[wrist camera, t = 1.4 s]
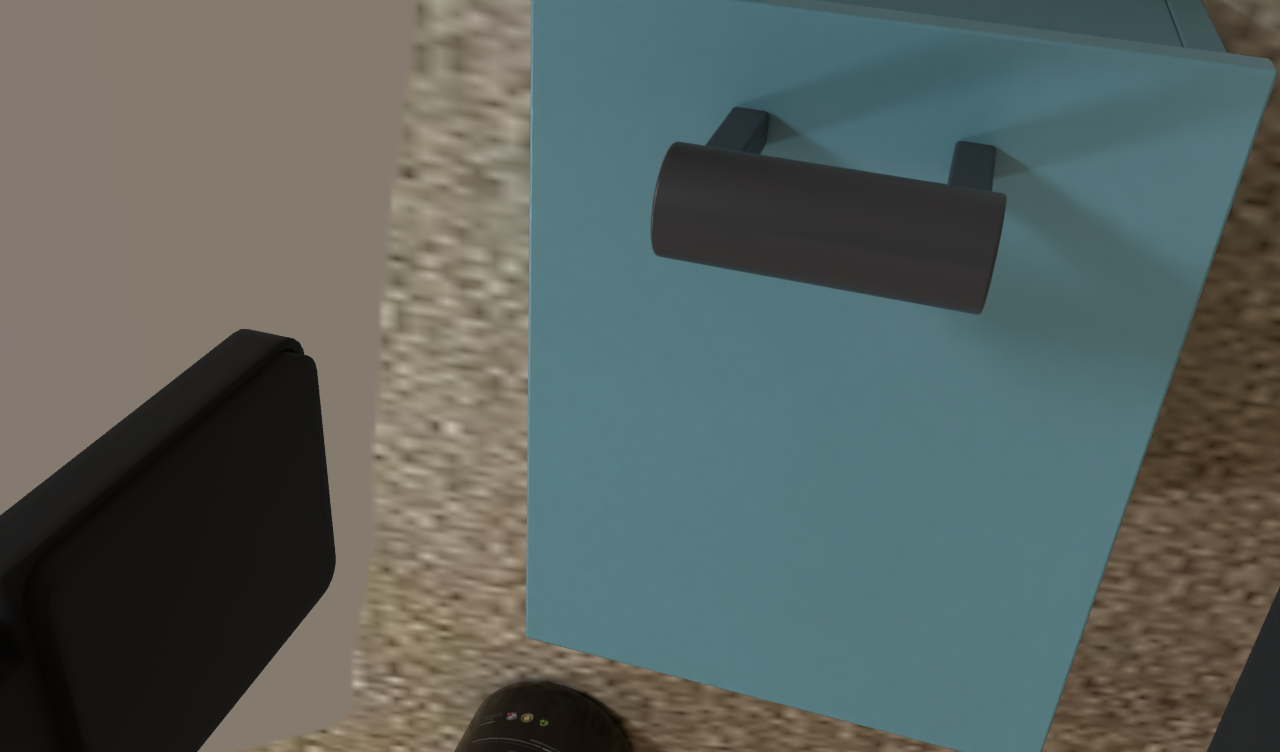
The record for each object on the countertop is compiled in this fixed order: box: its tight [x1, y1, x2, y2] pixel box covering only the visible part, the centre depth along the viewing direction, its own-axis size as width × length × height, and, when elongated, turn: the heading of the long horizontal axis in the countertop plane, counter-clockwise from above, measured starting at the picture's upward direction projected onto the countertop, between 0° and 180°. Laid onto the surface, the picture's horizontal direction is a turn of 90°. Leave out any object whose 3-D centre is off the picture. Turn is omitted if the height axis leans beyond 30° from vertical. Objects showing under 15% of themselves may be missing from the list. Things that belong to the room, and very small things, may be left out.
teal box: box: [819, 0, 1227, 53], centre depth 29 cm, size 16×13×10 cm
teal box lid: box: [526, 0, 1278, 752], centre depth 22 cm, size 16×13×6 cm
